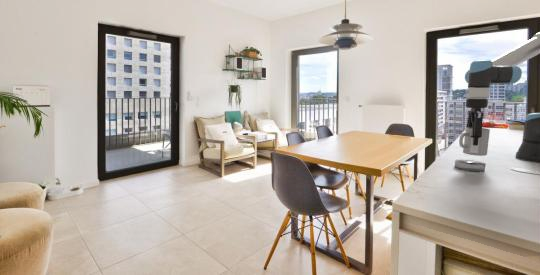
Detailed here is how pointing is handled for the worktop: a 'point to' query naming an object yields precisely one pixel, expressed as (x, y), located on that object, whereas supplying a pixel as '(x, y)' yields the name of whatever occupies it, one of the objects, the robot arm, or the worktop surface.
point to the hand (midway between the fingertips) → (471, 150)
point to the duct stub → (470, 165)
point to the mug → (482, 142)
